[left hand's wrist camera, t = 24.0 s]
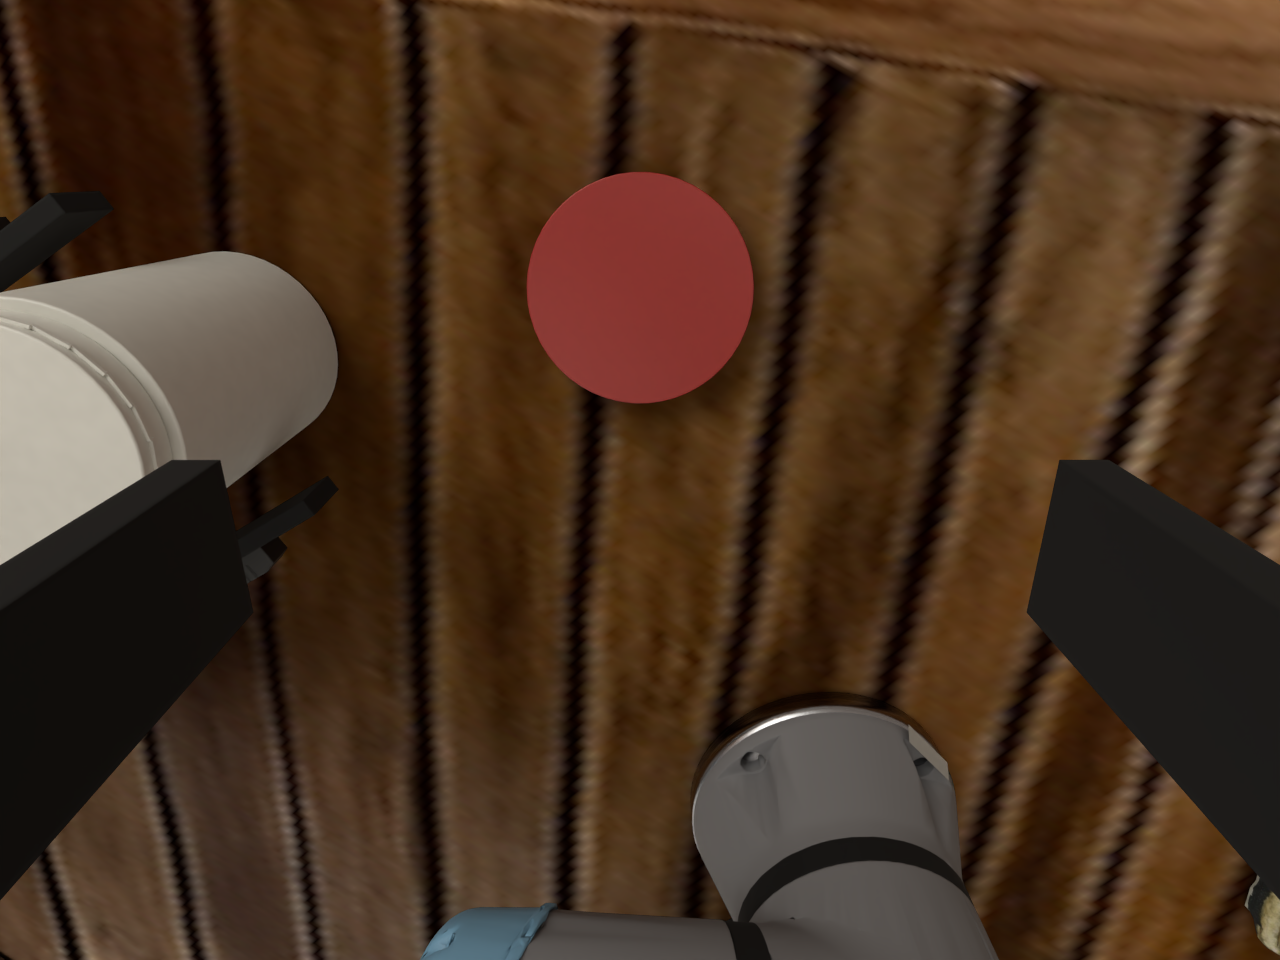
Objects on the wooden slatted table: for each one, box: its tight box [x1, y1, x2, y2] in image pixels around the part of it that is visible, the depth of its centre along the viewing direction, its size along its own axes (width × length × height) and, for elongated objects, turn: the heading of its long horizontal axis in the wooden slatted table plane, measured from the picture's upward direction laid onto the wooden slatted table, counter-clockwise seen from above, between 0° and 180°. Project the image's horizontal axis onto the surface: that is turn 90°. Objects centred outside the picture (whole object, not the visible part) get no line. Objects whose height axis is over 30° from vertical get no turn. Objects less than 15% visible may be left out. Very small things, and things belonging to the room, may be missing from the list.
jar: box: [0, 251, 338, 565], centre depth 30 cm, size 9×9×15 cm
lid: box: [527, 172, 754, 403], centre depth 35 cm, size 10×10×2 cm
